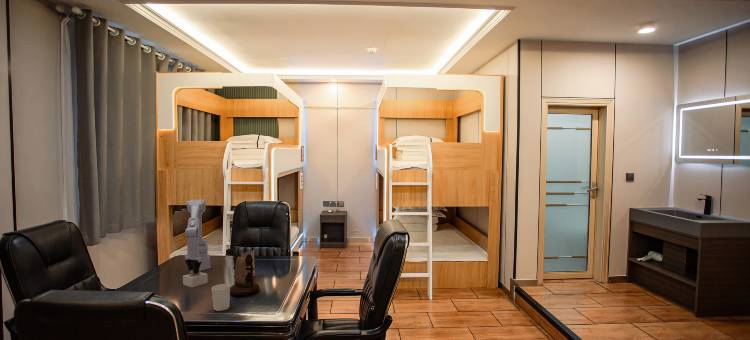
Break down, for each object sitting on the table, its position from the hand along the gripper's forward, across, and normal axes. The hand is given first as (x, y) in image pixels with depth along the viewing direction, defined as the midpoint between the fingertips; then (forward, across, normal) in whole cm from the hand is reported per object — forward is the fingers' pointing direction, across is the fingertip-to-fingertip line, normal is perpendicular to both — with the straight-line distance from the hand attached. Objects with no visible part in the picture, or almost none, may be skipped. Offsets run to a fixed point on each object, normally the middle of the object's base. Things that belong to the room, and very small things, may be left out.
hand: (193, 272), depth 206 cm
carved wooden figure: (+6, +21, +21) cm, 30 cm away
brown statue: (+6, +35, +7) cm, 36 cm away
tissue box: (+6, +2, 0) cm, 6 cm away
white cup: (+6, +43, -11) cm, 45 cm away
